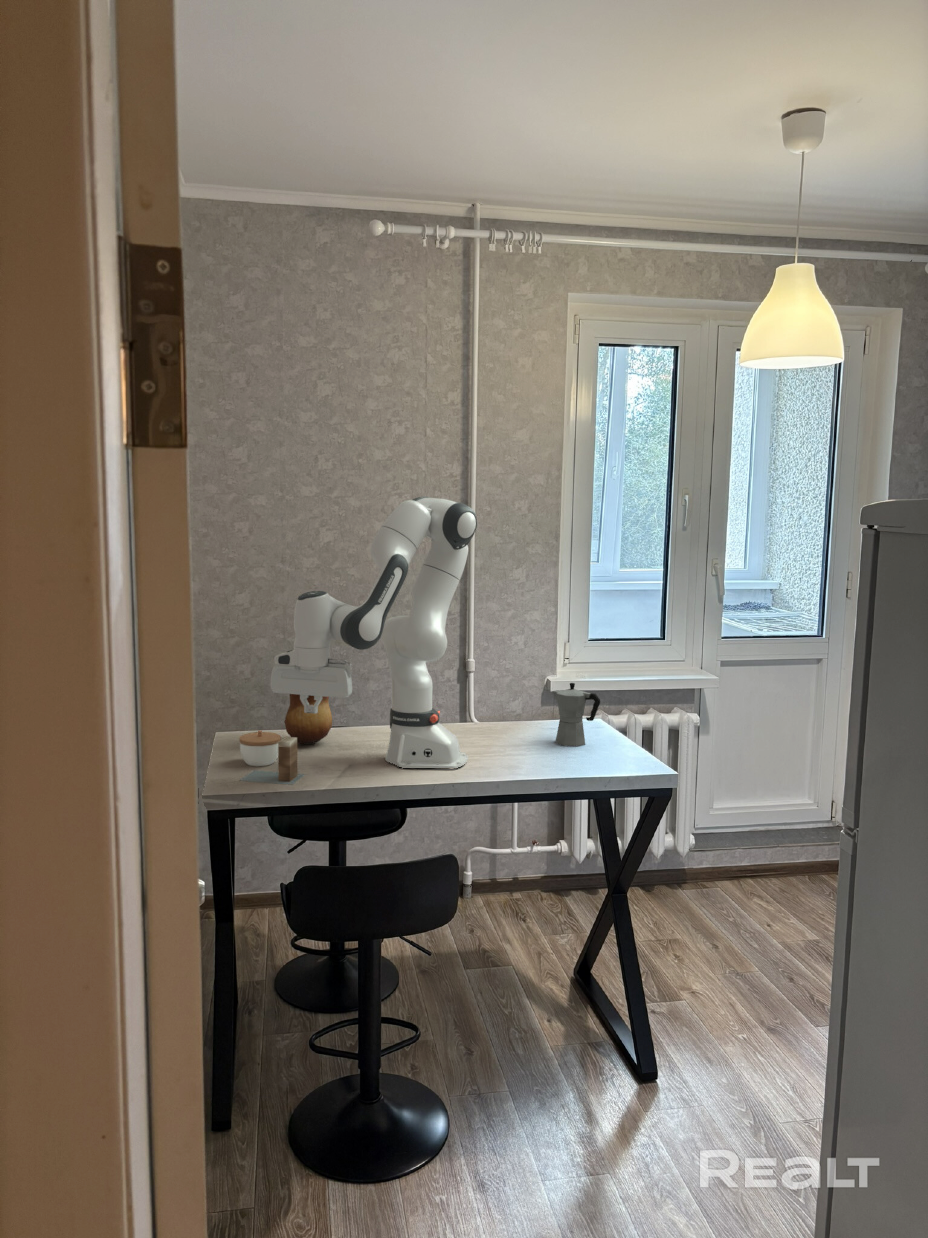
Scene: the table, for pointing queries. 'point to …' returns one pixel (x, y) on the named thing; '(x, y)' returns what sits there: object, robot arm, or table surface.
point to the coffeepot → (573, 715)
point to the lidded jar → (259, 748)
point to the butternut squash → (308, 720)
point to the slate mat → (268, 777)
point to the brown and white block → (287, 759)
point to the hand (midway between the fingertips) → (311, 712)
